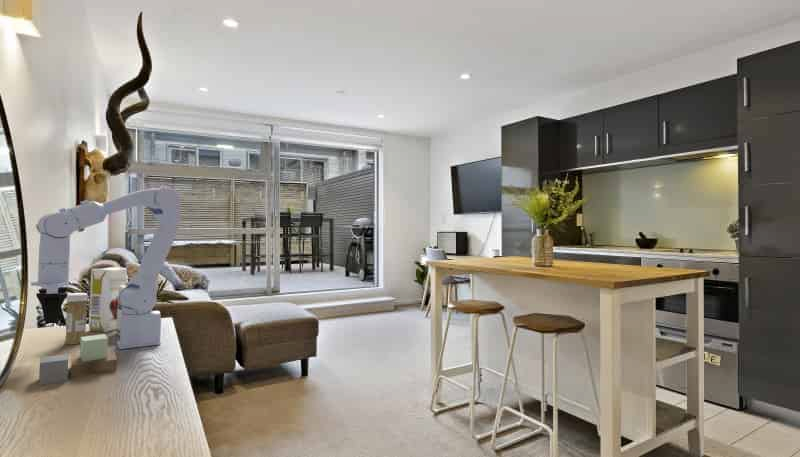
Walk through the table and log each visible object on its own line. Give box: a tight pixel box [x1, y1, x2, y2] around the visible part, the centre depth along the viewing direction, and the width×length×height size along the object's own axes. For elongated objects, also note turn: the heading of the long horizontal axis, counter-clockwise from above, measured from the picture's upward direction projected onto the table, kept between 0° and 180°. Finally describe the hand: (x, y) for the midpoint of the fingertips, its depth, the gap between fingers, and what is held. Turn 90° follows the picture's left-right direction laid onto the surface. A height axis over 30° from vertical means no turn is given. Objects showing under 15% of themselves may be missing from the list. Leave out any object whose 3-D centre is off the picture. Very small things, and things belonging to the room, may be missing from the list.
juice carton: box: [88, 266, 127, 333], centre depth 132 cm, size 8×9×19 cm
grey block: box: [38, 354, 69, 386], centre depth 88 cm, size 4×4×4 cm
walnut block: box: [70, 350, 118, 378], centre depth 96 cm, size 8×8×3 cm
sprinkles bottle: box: [64, 292, 89, 345], centre depth 116 cm, size 5×5×13 cm
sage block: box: [79, 333, 109, 362], centre depth 96 cm, size 4×4×4 cm
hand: (51, 320), depth 101 cm, fingers open, 7 cm apart
